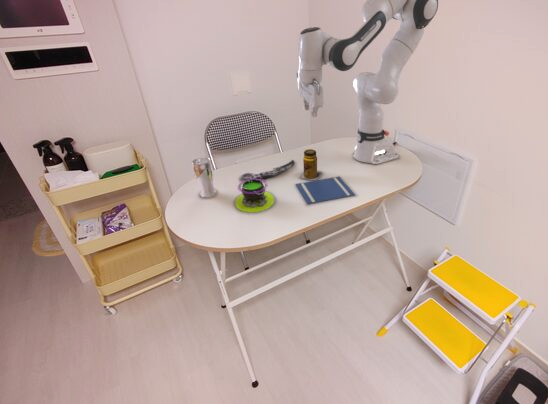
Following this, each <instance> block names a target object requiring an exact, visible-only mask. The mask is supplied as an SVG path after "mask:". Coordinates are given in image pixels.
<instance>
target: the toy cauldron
mask: <svg viewBox="0 0 548 404" xmlns="http://www.w3.org/2000/svg"><path fill="white" fill-rule="evenodd" d="M252 174H253V175H254V173H252ZM252 174H251V175H252ZM244 177H245V178H247V177H250V175H248V176H244ZM259 177H260V176H259ZM256 178H257V177H256ZM243 179H244V178H243ZM267 188H268V181H266V180H264V179H256V180H255V179H250V180H242V179H241V182H240V183H239V184H238V191H239V192H241V195H239V196H238V197H237V198H236V199H235V207H236V208H237V209H238V210H240V211H241V212H245V213H259V212H263V211H265V210H268V209H269V208H271V207H272V206H273V205H274V202H275V198H274V196H273V194H272V193H270V192H268V191H266V190H267Z"/></svg>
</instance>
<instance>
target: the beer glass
mask: <svg viewBox="0 0 548 404" xmlns="http://www.w3.org/2000/svg"><path fill="white" fill-rule="evenodd" d="M191 164H192V171H193V175H194V178H195V179H196V181H197V184H198V186H199V190H200V191H199V192H200V196H201V197H202V198H207V199H208V198H212V197H214V196H215V195H216V194H217V191H216V189H215V186H214V172H213V171H214V170H213V166H212V163H211V159H210V158H209V157H207V156H198V157H196V158H193V159H192V161H191Z"/></svg>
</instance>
